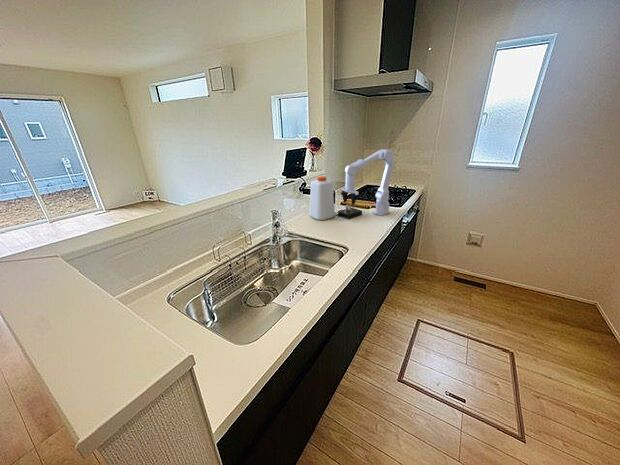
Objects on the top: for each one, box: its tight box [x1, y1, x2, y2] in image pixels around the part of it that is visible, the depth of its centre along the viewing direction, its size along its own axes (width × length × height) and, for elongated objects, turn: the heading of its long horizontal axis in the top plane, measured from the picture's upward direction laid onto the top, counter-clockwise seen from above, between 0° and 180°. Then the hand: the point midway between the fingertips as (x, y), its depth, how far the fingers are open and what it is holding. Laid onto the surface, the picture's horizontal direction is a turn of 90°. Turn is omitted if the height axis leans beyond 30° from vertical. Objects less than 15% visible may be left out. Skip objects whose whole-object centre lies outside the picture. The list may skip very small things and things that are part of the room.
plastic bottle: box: [309, 175, 336, 221], centre depth 173 cm, size 15×15×28 cm
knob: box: [344, 204, 352, 212], centre depth 178 cm, size 4×4×4 cm
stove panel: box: [337, 207, 363, 220], centre depth 179 cm, size 14×10×3 cm
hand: (349, 203), depth 174 cm, fingers open, 7 cm apart
